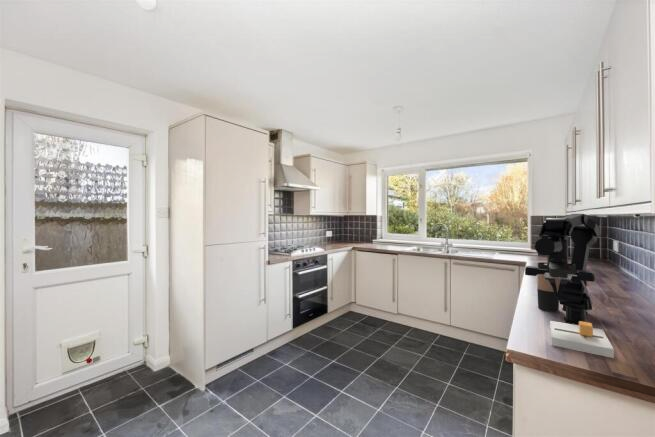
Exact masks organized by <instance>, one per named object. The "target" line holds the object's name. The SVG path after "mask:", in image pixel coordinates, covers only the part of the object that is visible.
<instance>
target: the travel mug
mask: <svg viewBox="0 0 655 437" xmlns="http://www.w3.org/2000/svg"><path fill="white" fill-rule="evenodd" d="M537 267H538V269H545V270H547V262H544V261H543V262H538V263H537ZM559 278H560V277H555V282H556V288H557V292H558V285H559ZM536 279H537V280H536V282H537V284H536V285H537V288H536V289H537V291H536V292H537V308H538V309H539V310H541V309H542V310H541V311H545V312H552V313H553V312H554V313H555V312H559V308H560V302H559V298H556V296H555V293H554V290H553V288H552V286H551V284H550V282H549V280H546V279H545V278H544V274H538V275H537V278H536Z"/></svg>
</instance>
